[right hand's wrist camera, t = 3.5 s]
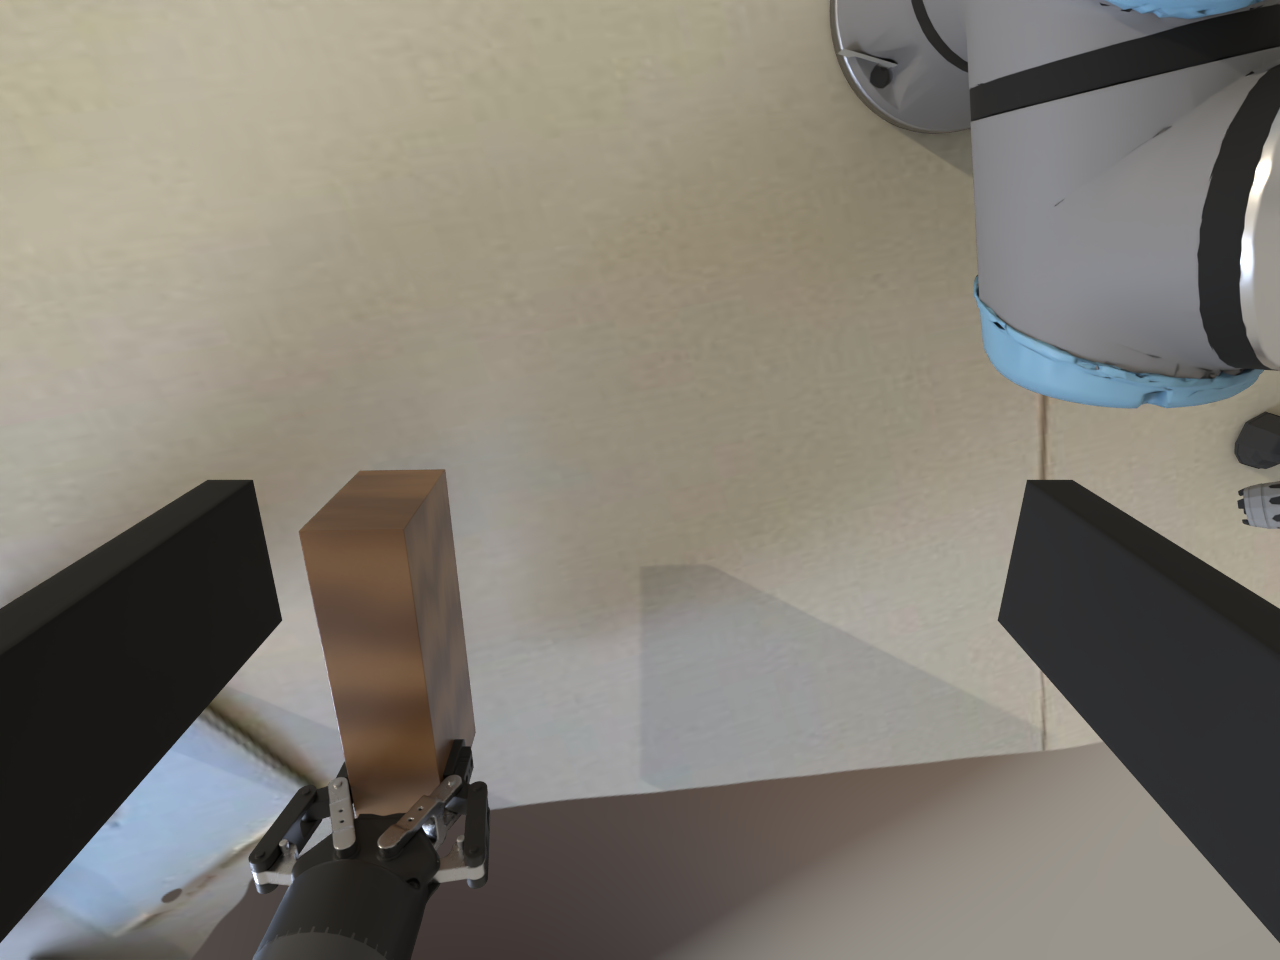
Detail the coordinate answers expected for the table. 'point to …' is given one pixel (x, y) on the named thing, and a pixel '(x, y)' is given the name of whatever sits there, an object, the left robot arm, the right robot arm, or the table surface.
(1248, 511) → the robot
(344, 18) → the table surface
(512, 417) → the table surface
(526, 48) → the table surface
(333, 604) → the box
